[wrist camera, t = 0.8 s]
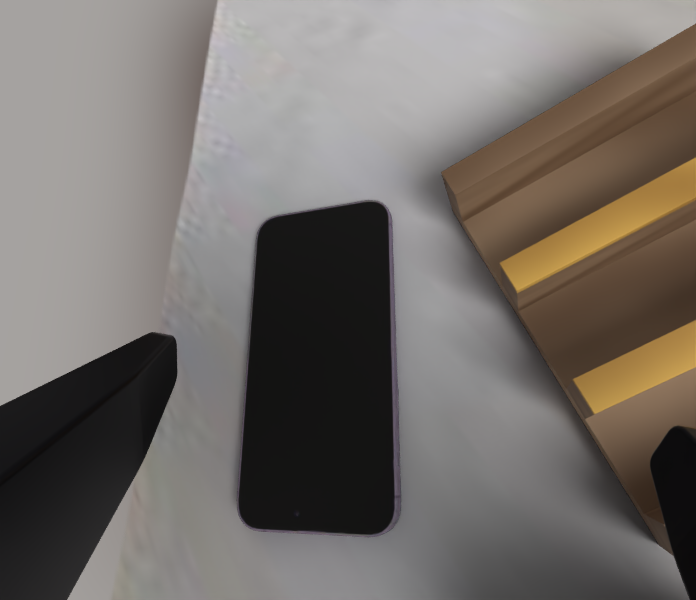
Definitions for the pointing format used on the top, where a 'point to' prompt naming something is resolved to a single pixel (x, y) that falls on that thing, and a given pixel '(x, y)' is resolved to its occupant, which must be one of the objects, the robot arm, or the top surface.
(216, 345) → the top surface
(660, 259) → the rack
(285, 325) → the smartphone
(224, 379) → the top surface
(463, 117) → the top surface
